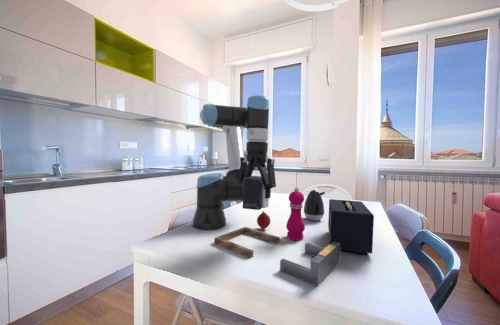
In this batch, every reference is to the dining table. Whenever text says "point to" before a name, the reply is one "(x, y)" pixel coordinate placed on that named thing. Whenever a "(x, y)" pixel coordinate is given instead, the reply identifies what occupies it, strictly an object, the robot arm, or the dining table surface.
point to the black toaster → (351, 225)
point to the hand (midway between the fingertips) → (255, 205)
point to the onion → (263, 220)
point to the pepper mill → (295, 216)
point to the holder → (242, 250)
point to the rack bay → (314, 263)
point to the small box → (252, 192)
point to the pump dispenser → (314, 206)
